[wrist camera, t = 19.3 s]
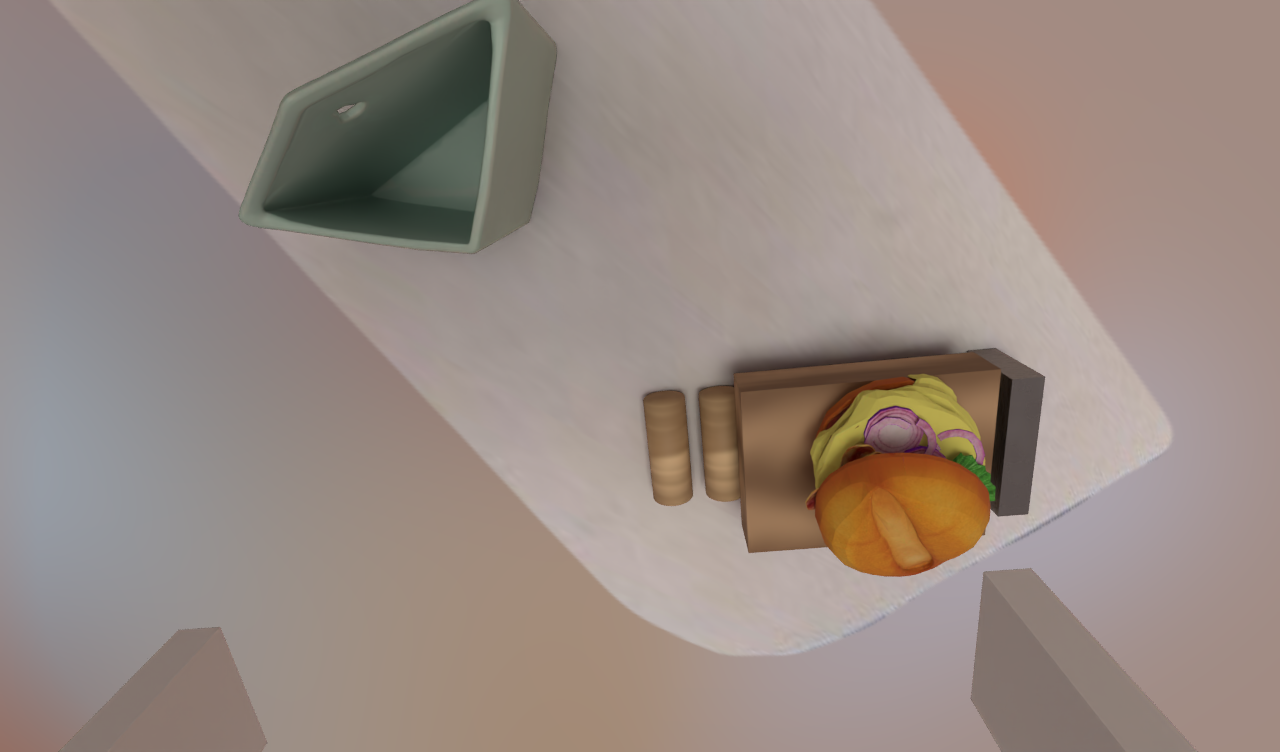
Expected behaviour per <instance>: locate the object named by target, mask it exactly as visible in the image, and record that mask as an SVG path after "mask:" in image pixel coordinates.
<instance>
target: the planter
mask: <svg viewBox="0 0 1280 752" xmlns="http://www.w3.org/2000/svg"><path fill="white" fill-rule="evenodd" d="M556 57H557V48H556V44H555V42H554V41H553V40H552V39H551V37H550V36H549V35H548V34H547V33H546V32H545V31H544V30H543V28H542V27H541V26H540V25H539V24H538V23H537V22H536V20H535V19H534V18H533V17H532V16H531V15H530V14H529V13H528V11H527V10H526V9H525V8H524V7H523V6H522V5H521V4H520V2H519V1H518V0H473V1H471V2H469V3H467V4H465V5H463V6H461V7H459V8H457V9H454V10H452V11H450V12H448V13H446V14H444V15H442V16H440V17H438V18H436V19H434V20H432V21H430V22H428V23H426V24H424V25H422V26H420V27H418V28H416V29H414V30H412V31H410V32H408V33H406V34H404V35H403V36H401V37H399V38H397V39H395V40H393V41H391V42H389V43H387V44H385V45H383V46H381V47H379V48H377V49H375V50H373V51H371V52H369V53H367V54H365V55H363V56H361V57H359V58H357V59H355V60H353V61H351V62H349V63H347V64H345V65H343V66H341V67H339V68H337V69H335V70H333V71H331V72H329V73H327V74H325V75H323V76H321V77H319V78H317V79H315V80H312V81H310V82H308V83H306V84H304V85H302V86H300V87H298V88H296V89H294V90H292V91H291V92H289V93H288V94H286V95H285V96H284V98H283V99H282V101H281V103H280V106H279V108H278V111H277V114H276V117H275V120H274V123H273V125H272V128H271V131H270V134H269V136H268V139H267V141H266V144H265V147H264V149H263V152H262V154H261V157H260V159H259V161H258V164H257V166H256V169H255V171H254V174H253V176H252V178H251V181H250V183H249V186H248V189H247V192H246V194H245V197H244V200H243V202H242V205H241V207H240V210H239V218H240V220H241V221H242V222H244V223H245V224H247V225H250V226H253V227H258V228H266V229H275V230H283V231H291V232H298V233H305V234H312V235H319V236H326V237H332V238H339V239H345V240H352V241H359V242H365V243H372V244H379V245H386V246H394V247H401V248H408V249H415V250H426V251H440V252H453V253H467V254H475V253H477V252H479V251H480V250H482V249H484V248H486V247H487V246H489V245H491V244H493V243H494V242H496V241H498V240H500V239H501V238H503V237H505V236H507V235H508V234H510V233H512V232H513V231H515V230H517V229H518V228H520V227H522V226H524V225H525V224H527V223H528V222H529V221H530V217H531V213H532V209H533V204H534V200H535V196H536V191H537V187H538V183H539V176H540V169H541V162H542V155H543V147H544V139H545V131H546V122H547V114H548V106H549V100H550V94H551V88H552V82H553V75H554V69H555V64H556ZM354 104H355V105H354ZM346 105H354V106H353V107H351V108H350V109H348V110H347V111H345V112H342V113H340V114H339V113H338V111H337V110H338V109H340V108H342V107H344V106H346Z"/></svg>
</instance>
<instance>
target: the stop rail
mask: <svg viewBox="0 0 1280 752" xmlns="http://www.w3.org/2000/svg"><path fill="white" fill-rule="evenodd" d="M969 352H974V353H976V354H978V355H979V356H981V357H982V358H984V359H986V360H987V361H989V362H990V363H992V364H994V365H995V366H997V367H998V368H1000V369H1001V377H1000V387H999V397H998V407H997V417H996V427H995V438H994V448H993V458H992V468H991V480H990V482H991V483H992V484H993V485H994V486H995V487H996V490H995V500H996V501H990V506H991V507H990V509H991V510H992V511H993V512H994V513H995V514H996V515H997V516H1010V515H1023V514H1028V511H1029V503H1030V495H1031V486H1032V478H1033V470H1034V462H1035V454H1036V446H1037V438H1038V430H1039V422H1040V414H1041V406H1042V398H1043V390H1044V382H1045V376H1043V375H1041V374H1040V373H1038V372H1036V371H1034V370H1033V369H1031V368H1029V367H1027V366H1026V365H1024V364H1022V363H1020V362H1019V361H1017V360H1015V359H1013V358H1012V357H1010V356H1008V355H1006V354H1005V353H1003V352H1001V351H999V350H998V349H996V348H993V349H982V350H971V351H967V353H969Z"/></svg>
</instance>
